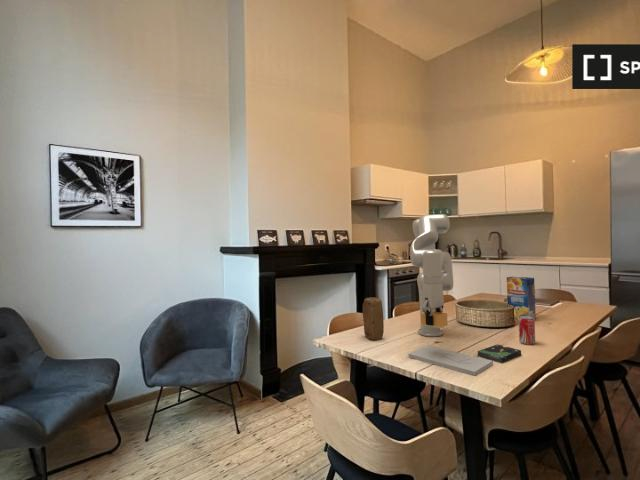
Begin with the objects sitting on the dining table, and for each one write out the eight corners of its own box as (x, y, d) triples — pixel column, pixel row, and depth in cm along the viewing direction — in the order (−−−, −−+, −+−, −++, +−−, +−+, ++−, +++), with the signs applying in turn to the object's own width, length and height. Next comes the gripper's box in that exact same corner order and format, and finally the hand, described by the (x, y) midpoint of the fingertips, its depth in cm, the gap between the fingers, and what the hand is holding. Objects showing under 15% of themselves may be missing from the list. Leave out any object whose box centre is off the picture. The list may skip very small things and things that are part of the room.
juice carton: (535, 319, 195) (534, 277, 195) (528, 321, 192) (527, 279, 192) (514, 315, 206) (513, 276, 206) (507, 317, 202) (506, 277, 202)
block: (385, 339, 169) (383, 299, 169) (372, 341, 166) (370, 300, 166) (374, 334, 179) (373, 295, 179) (361, 335, 176) (360, 297, 176)
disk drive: (497, 350, 149) (477, 357, 141) (496, 344, 149) (477, 350, 141) (521, 356, 140) (502, 364, 132) (521, 350, 140) (501, 357, 132)
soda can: (530, 346, 151) (529, 319, 151) (516, 342, 156) (515, 316, 156) (538, 343, 154) (537, 317, 154) (524, 340, 159) (523, 314, 159)
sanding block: (426, 322, 146) (425, 310, 146) (447, 325, 141) (447, 313, 141) (421, 325, 142) (420, 313, 142) (442, 328, 137) (442, 315, 137)
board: (428, 348, 153) (428, 345, 153) (492, 364, 131) (492, 360, 131) (408, 357, 143) (408, 353, 143) (474, 376, 122) (474, 371, 122)
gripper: (435, 277, 150) (437, 318, 150) (412, 281, 139) (414, 326, 139) (451, 278, 144) (453, 321, 144) (429, 283, 133) (430, 329, 133)
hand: (434, 323), depth 142 cm, fingers closed on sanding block, 6 cm apart
